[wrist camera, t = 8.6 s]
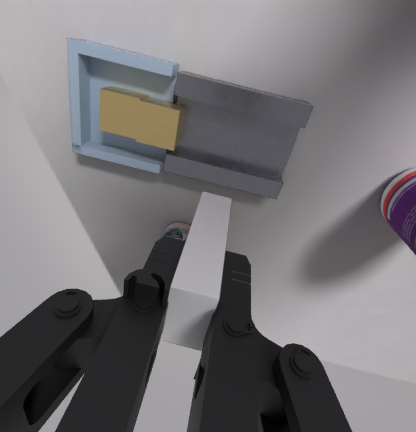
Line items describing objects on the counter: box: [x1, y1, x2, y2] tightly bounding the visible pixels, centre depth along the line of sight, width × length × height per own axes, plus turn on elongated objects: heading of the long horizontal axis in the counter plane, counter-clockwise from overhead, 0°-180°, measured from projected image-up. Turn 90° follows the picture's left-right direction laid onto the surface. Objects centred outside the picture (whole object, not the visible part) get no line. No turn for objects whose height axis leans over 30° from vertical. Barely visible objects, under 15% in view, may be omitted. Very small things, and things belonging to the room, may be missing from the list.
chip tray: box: [67, 38, 179, 174], centre depth 29 cm, size 11×10×2 cm
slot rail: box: [164, 71, 313, 199], centre depth 29 cm, size 10×13×2 cm
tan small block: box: [100, 86, 150, 139], centre depth 28 cm, size 4×4×3 cm
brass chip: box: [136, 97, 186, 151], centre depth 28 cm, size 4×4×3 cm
